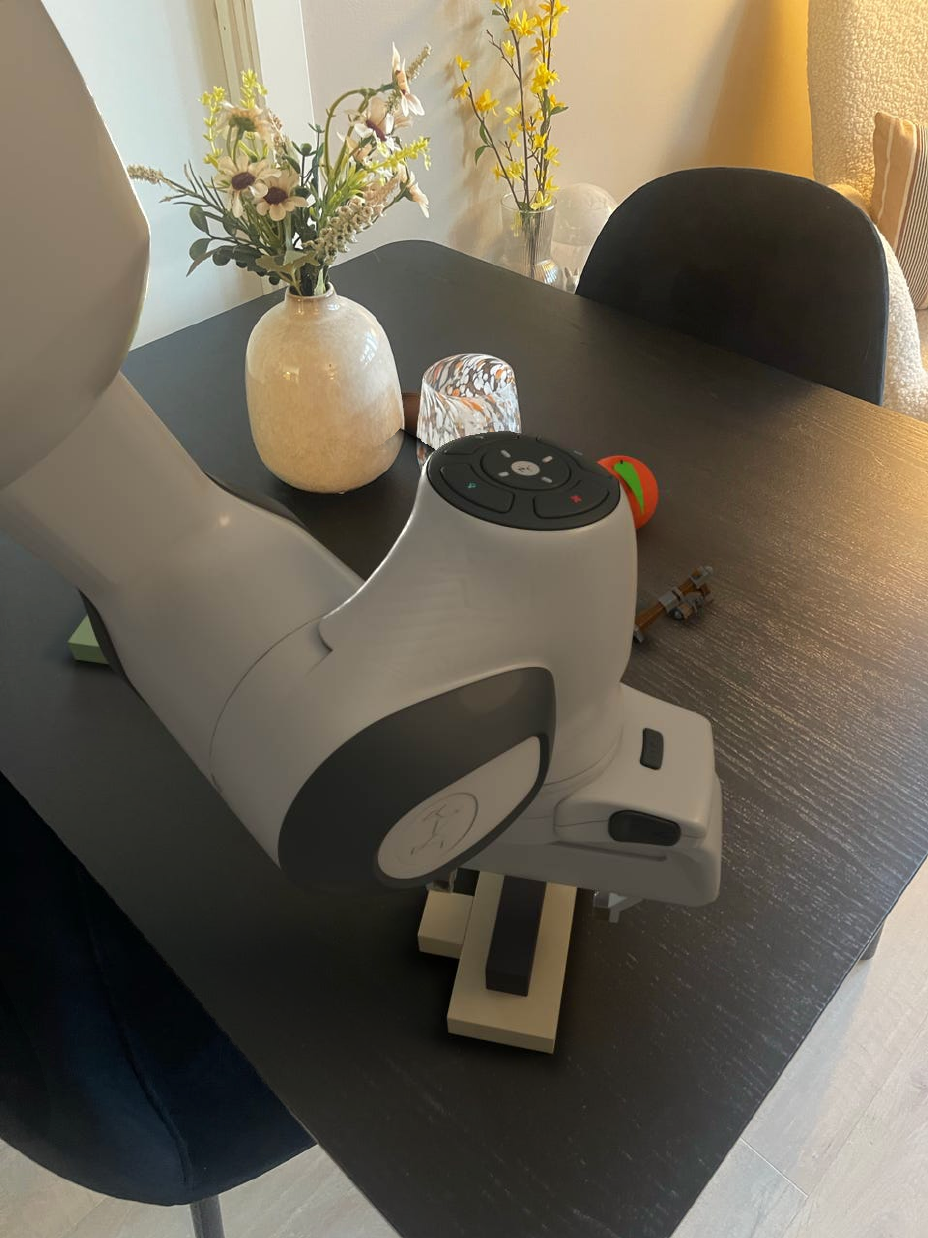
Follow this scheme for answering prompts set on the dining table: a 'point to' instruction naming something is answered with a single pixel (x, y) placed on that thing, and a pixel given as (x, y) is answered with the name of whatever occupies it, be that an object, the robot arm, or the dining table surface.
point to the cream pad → (472, 949)
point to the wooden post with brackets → (676, 601)
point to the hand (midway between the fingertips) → (522, 895)
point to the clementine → (634, 485)
